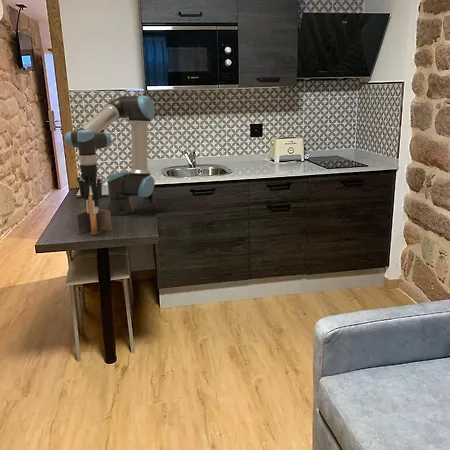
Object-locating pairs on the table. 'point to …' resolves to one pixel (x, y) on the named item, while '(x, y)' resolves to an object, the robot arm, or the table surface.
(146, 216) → the table surface
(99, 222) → the hinge
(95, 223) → the hinge pin
